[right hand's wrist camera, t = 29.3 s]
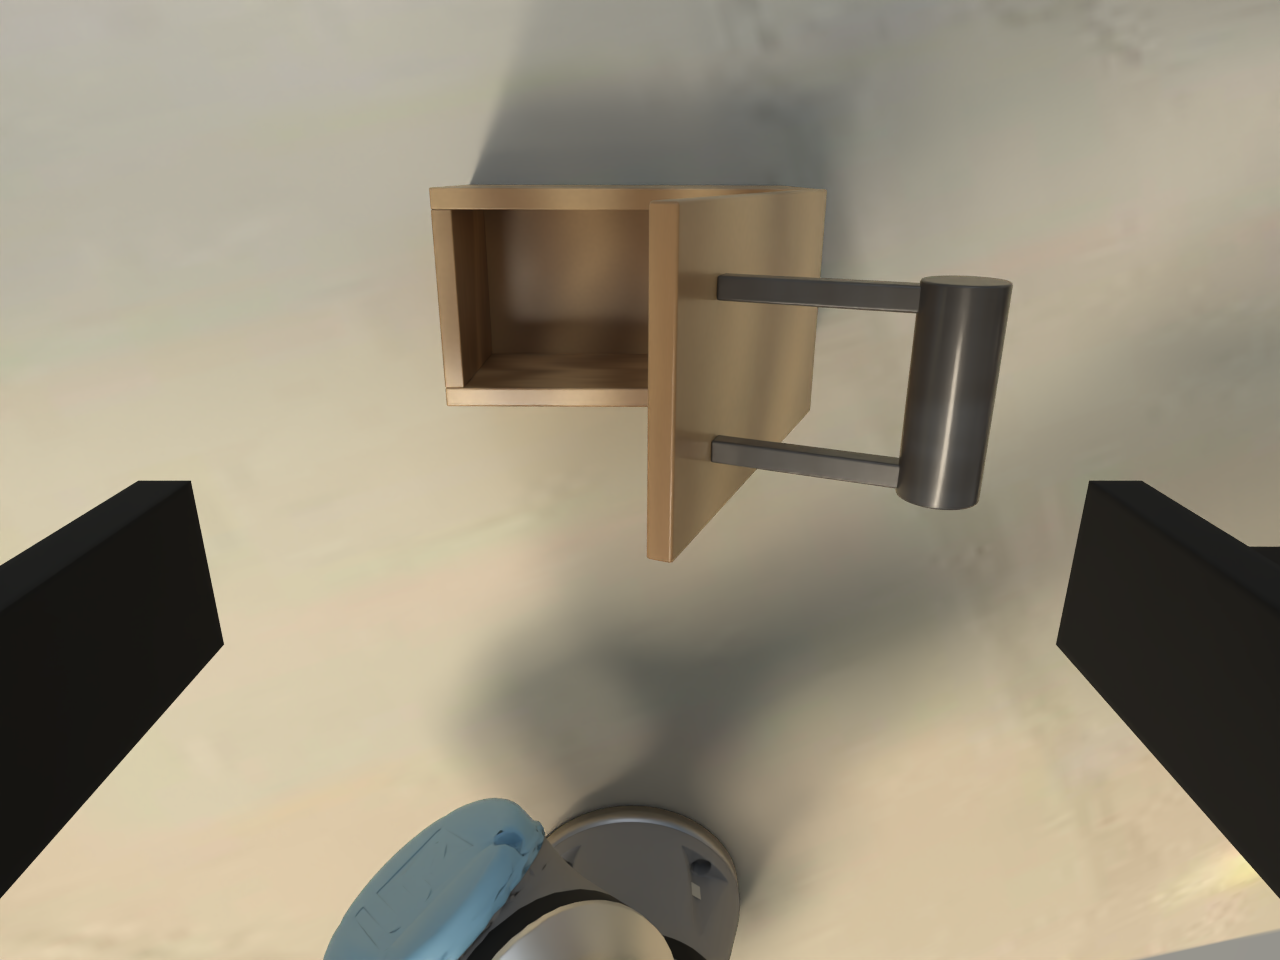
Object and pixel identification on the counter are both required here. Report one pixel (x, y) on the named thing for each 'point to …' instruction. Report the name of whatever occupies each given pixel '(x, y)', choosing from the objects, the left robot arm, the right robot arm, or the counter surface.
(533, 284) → the chest
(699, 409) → the lid
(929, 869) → the counter surface
